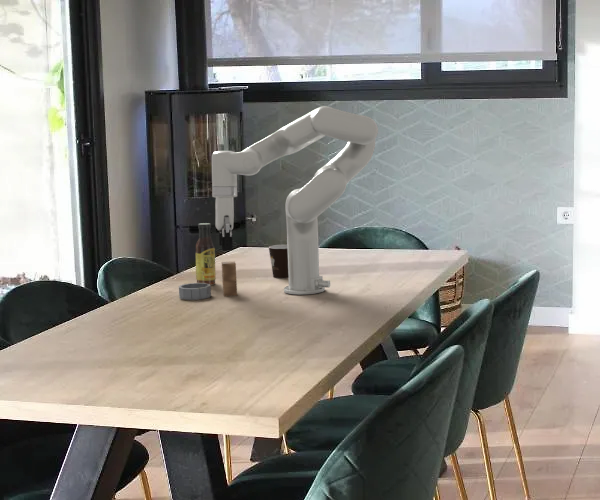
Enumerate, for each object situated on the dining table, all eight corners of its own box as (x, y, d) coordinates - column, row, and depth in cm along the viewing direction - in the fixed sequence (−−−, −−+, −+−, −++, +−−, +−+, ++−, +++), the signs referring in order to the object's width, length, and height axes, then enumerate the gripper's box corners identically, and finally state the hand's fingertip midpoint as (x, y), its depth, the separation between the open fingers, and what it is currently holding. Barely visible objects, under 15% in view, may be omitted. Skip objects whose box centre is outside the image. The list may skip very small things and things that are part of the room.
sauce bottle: (206, 287, 357) (203, 225, 354) (192, 285, 360) (189, 224, 357) (220, 283, 362) (217, 222, 359) (206, 282, 366) (203, 222, 363)
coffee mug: (295, 278, 367) (294, 248, 365) (269, 279, 367) (268, 249, 365) (296, 272, 378) (295, 243, 377) (270, 273, 378) (269, 243, 377)
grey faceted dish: (209, 292, 347) (209, 282, 346) (211, 298, 337) (211, 287, 337) (178, 294, 345) (178, 284, 345) (180, 300, 336) (179, 289, 335)
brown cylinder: (235, 293, 345) (234, 261, 344) (237, 295, 341) (235, 263, 340) (223, 293, 345) (221, 261, 343) (224, 296, 341) (222, 263, 339)
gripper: (210, 189, 346) (211, 244, 349) (214, 194, 329) (215, 252, 332) (234, 188, 347) (235, 243, 350) (239, 194, 330) (240, 251, 333)
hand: (225, 247), depth 341 cm, fingers open, 9 cm apart
